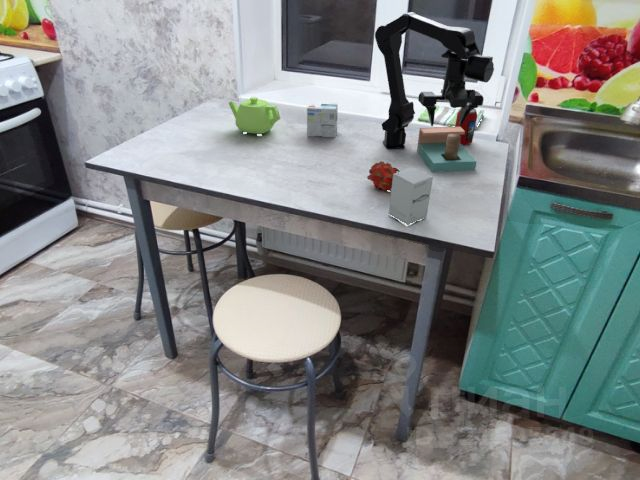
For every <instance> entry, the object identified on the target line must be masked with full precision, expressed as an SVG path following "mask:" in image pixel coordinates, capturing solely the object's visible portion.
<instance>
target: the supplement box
mask: <svg viewBox="0 0 640 480" xmlns="http://www.w3.org/2000/svg"><path fill="white" fill-rule="evenodd" d="M399 171H400V172H398V171H397V173H395V174H393V180H392V189H390V190H391V192H390V199H389V208H388V215H389V214H390V215H392V216H394V217H395V218H397V219H399V220H400V221H402V222H404V223H406V224H407V225H409V224H410V223H413V222H415V221H417V220H420V219H423V218H426V219H427V217H428V212H429V211H428V210H429V204H430V198H431V194H432V193H431V192H432V186H433V178H434V176H433V175H431V174H429V173H427V172H425V171H423V170H421V169H418V168H416V167H414V166H412V167H409V168H406V169H403V170H399Z"/></svg>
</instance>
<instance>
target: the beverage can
mask: <svg viewBox="0 0 640 480" xmlns="http://www.w3.org/2000/svg"><path fill="white" fill-rule="evenodd" d="M459 109H460V110H459V112H458V113H457V118H456V124H455V127H459V126H460V125H459V118H460V113H461V107H459ZM476 111H477V108H474V109H473V110H471V111H470V113H469V114H468V115H467V117H466V119H465V120H464V122H463V124H462V125H461V126H460V127H461V128H462V129H463V130H464V131H465V134H460V136H461V139H460V144H461V145H462V146H468V145H470V144H471V143H473V140H474V136H475V131H476V130H475V126H476V120H477V112H476Z"/></svg>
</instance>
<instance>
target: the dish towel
mask: <svg viewBox="0 0 640 480" xmlns="http://www.w3.org/2000/svg"><path fill="white" fill-rule="evenodd" d="M435 106H436V107H437V108H436V110H435V115H434V123H437V124H436V125H438V124H443V125H442V126H445V125H450V126H455V124H456V118H457V113H458V112H459V110H460V108H452V107H451V106H450V107H449V106H446V105H445V106H444V105H437V104H435ZM476 112H477V120H476V126H475V129H477V125H478V123H479V122H480V120H481V119H483V120H484V118H485V115H484V113H485V110H482V109H481V110H476ZM418 120H419V121H418ZM417 121H418V122H422V121H425V122H424V123H428V122H430V119H429V115H428V111H427V108H426V107H425V110H424V111H423V112H422V113H420V115H419V117H418V118H417ZM450 126H449V127H450ZM477 130H478V129H477Z"/></svg>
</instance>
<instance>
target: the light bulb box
mask: <svg viewBox="0 0 640 480" xmlns="http://www.w3.org/2000/svg"><path fill="white" fill-rule="evenodd" d="M338 108H339V107H338V103H337V102H336V103H335V102H334V103H333V102H331V103H330V102H312V101H311V102H310V101H309V103H308V105H307V107H306V131H307V133H306V136H307V137H314V136H322V137H321V138H334V137H335V138H336V137H337V132H338V110H339V109H338Z"/></svg>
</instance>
